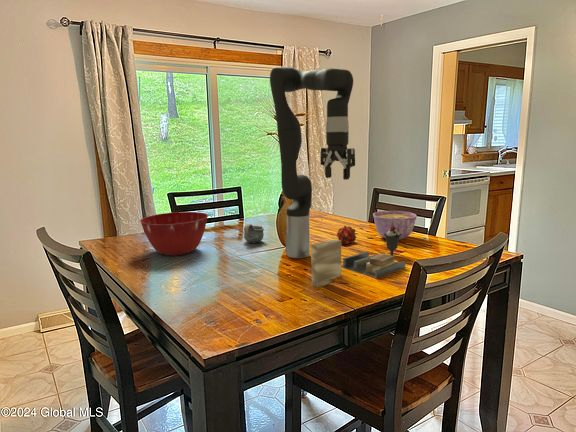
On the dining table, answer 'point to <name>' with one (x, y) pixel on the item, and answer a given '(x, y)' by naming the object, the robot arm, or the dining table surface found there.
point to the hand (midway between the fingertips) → (337, 178)
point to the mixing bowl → (175, 231)
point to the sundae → (392, 239)
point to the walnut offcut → (381, 259)
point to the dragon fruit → (346, 235)
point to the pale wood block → (325, 262)
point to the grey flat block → (373, 268)
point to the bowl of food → (394, 222)
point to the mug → (253, 233)
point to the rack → (360, 260)
